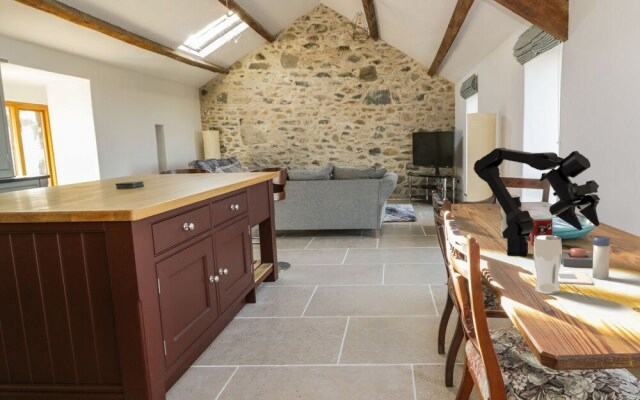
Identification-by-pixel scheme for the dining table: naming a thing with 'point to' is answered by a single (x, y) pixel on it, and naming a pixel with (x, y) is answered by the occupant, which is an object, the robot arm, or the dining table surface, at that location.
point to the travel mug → (503, 215)
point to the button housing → (577, 260)
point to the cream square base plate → (573, 278)
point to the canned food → (541, 226)
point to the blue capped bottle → (601, 257)
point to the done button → (578, 253)
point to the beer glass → (547, 263)
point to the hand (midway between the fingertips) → (589, 227)
